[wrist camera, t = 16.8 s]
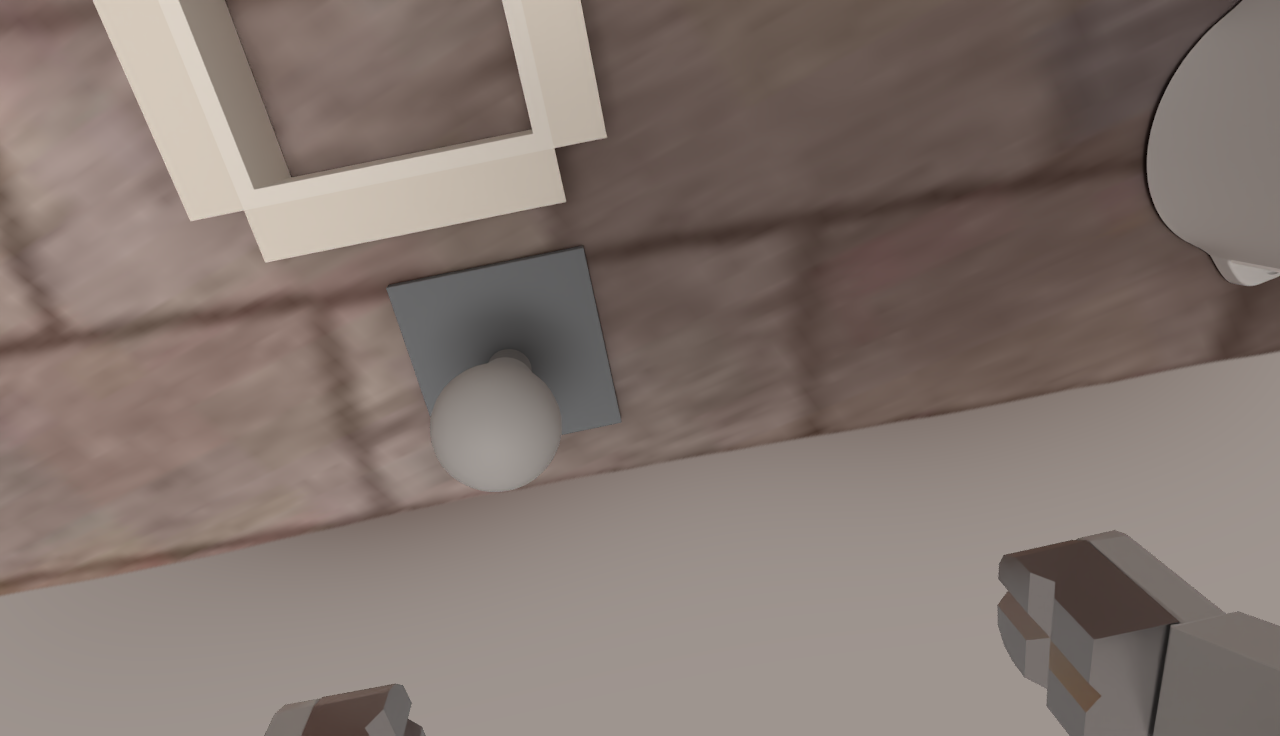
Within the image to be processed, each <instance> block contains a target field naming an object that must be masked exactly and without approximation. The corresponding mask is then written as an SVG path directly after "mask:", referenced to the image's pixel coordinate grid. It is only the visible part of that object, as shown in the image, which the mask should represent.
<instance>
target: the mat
mask: <svg viewBox="0 0 1280 736" xmlns="http://www.w3.org/2000/svg"><path fill="white" fill-rule="evenodd" d="M386 289H387V292H388V295H389V298H390V301H391V304H392V307H393V309H394V312H395V315H396V318H397V321H398V324H399V327H400V330H401V333H402V336H403V339H404V342H405V344H406V347H407V350H408V353H409V356H410V359H411V362H412V365H413V368H414V371H415V374H416V377H417V380H418V382H419V385H420V388H421V391H422V394H423V397H424V400H425V403H426V406H427V409H428V412H429V415H430V417H431V413H432V411H433V408H434V405H435V402H436V400H437V398H438V396H439V395H440V393H441V392H442V390H443V388H444V387H445V386H446V385H447V384H448V383H449V382H450V381H451V380H452V379H454V378H455V377H456V376H458V375H459V374H461V373H462V372H464V371H465V370H467V369H470V368H472V367H475V366H477V365H482V364H487V363H488V362H489V360H490V358H491V357H492V356H493V355H494V354H495V353H497V352H498V351H501V350H504V349H514V350H517V351H520V352H521V353H523V354H524V355H525V356H526V357H527V358H528V359H529V361H530V364H531V369H532V373H533V374H535V375H536V376H537V377H539V378H540V379H541V380H542V381H543V382H544V383H545V384H546V385H547V387H548V388H549V389H550V390H551V392H552V394H553V396H554V398H555V400H556V402H557V404H558V406H559V410H560V413H561V421H562V434H561V435H563V434H568V433H573V432H578V431H582V430H587V429H592V428H597V427H602V426H607V425H612V424H616V423H621V417H620V412H619V408H618V403H617V399H616V394H615V390H614V385H613V380H612V376H611V371H610V367H609V362H608V358H607V353H606V348H605V344H604V339H603V335H602V330H601V326H600V321H599V316H598V312H597V307H596V303H595V298H594V294H593V289H592V284H591V280H590V275H589V271H588V266H587V262H586V257H585V252H584V248H583V246H579V247H574V248H569V249H564V250H559V251H554V252H549V253H544V254H540V255H535V256H530V257H525V258H520V259H515V260H510V261H505V262H500V263H495V264H490V265H485V266H480V267H476V268H471V269H466V270H461V271H456V272H451V273H446V274H441V275H436V276H431V277H426V278H421V279H416V280H411V281H407V282H402V283H397V284H392V285H388V287H387V288H386Z"/></svg>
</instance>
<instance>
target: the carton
mask: <svg viewBox="0 0 1280 736" xmlns="http://www.w3.org/2000/svg"><path fill="white" fill-rule="evenodd" d="M93 2H94V4H95V7H96V9H97V11H98V13H99V16H100V18H101V20H102V22H103V25H104V27H105V29H106V31H107V34H108V36H109V38H110V40H111V43H112V45H113V47H114V50H115V52H116V54H117V56H118V59H119V61H120V63H121V65H122V68H123V70H124V72H125V74H126V77H127V79H128V81H129V83H130V86H131V88H132V90H133V92H134V95H135V97H136V99H137V102H138V104H139V106H140V108H141V111H142V113H143V115H144V117H145V120H146V122H147V124H148V126H149V129H150V131H151V133H152V135H153V138H154V140H155V142H156V144H157V147H158V149H159V151H160V153H161V156H162V158H163V160H164V163H165V165H166V167H167V169H168V172H169V174H170V176H171V178H172V181H173V183H174V185H175V187H176V190H177V192H178V194H179V196H180V199H181V201H182V203H183V205H184V208H185V210H186V212H187V215H188V217H189V219H190V221H194V220H199V219H204V218H209V217H214V216H219V215H224V214H229V213H234V212H239V211H244V212H245V214H246V217H247V219H248V222H249V224H250V226H251V229H252V231H253V234H254V236H255V239H256V241H257V244H258V246H259V248H260V251H261V253H262V256H263V258H264V261H265V263H266V262H271V261H276V260H281V259H286V258H291V257H296V256H301V255H306V254H310V253H315V252H320V251H325V250H330V249H335V248H340V247H345V246H350V245H355V244H360V243H365V242H370V241H375V240H380V239H385V238H390V237H395V236H400V235H405V234H409V233H414V232H419V231H424V230H429V229H434V228H439V227H444V226H449V225H454V224H459V223H464V222H469V221H474V220H479V219H484V218H489V217H494V216H499V215H504V214H508V213H513V212H518V211H523V210H528V209H533V208H538V207H543V206H548V205H553V204H558V203H563V202H566V198H565V193H564V189H563V184H562V180H561V175H560V171H559V166H558V162H557V157H556V153H555V148H558V147H563V146H568V145H573V144H578V143H583V142H588V141H593V140H598V139H603V138H607V135H606V130H605V125H604V120H603V115H602V110H601V104H600V99H599V94H598V89H597V84H596V78H595V73H594V68H593V63H592V58H591V52H590V47H589V42H588V37H587V32H586V26H585V21H584V16H583V11H582V6H581V0H502V2H503V6H504V11H505V15H506V19H507V24H508V28H509V32H510V36H511V41H512V45H513V49H514V54H515V58H516V62H517V66H518V71H519V75H520V79H521V84H522V88H523V92H524V97H525V101H526V105H527V109H528V114H529V118H530V122H531V127H532V129H530V130H525V131H520V132H515V133H510V134H505V135H500V136H495V137H491V138H486V139H481V140H476V141H471V142H466V143H461V144H456V145H451V146H446V147H441V148H436V149H431V150H426V151H421V152H416V153H411V154H406V155H401V156H396V157H391V158H386V159H381V160H376V161H371V162H366V163H361V164H356V165H351V166H346V167H341V168H336V169H331V170H326V171H321V172H316V173H311V174H306V175H301V176H296V177H291V175H290V173H289V170H288V167H287V165H286V162H285V159H284V157H283V154H282V151H281V149H280V146H279V143H278V141H277V138H276V135H275V133H274V130H273V127H272V125H271V122H270V119H269V117H268V114H267V111H266V109H265V106H264V103H263V101H262V98H261V95H260V93H259V90H258V87H257V85H256V82H255V79H254V77H253V74H252V71H251V69H250V66H249V63H248V61H247V58H246V55H245V53H244V50H243V47H242V45H241V42H240V39H239V37H238V34H237V31H236V29H235V26H234V23H233V21H232V18H231V15H230V13H229V10H228V7H227V5H226V2H225V0H93Z"/></svg>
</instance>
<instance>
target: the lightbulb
mask: <svg viewBox="0 0 1280 736" xmlns="http://www.w3.org/2000/svg"><path fill="white" fill-rule="evenodd" d="M561 434H562V421H561V413H560V410H559V406H558V404H557V402H556V400H555V398H554V396H553V394H552V392H551V390H550V389H549V388H548V387H547V385H546V384H545V383H544V382H543V381H542V380H541V379H540V378H539V377H537V376H536V375H535V374H533V373H532V369H531V364H530V361H529V359H528V358H527V357H526V356H525V355H524V354H523V353H521V352H520V351H517V350H514V349H504V350H501V351H498V352H497V353H495V354H494V355H493V356H492V357H491V358H490V360H489V362H488V363H487V364H482V365H477V366H475V367H472V368H470V369H467V370H465V371H464V372H462V373H461V374H459V375H458V376H456V377H455V378H454V379H452V380H451V381H450V382H449V383H448V384H447V385H446V386H445V387H444V388H443V390H442V392H441V393H440V395H439V396H438V398H437V400H436V402H435V405H434V408H433V411H432V413H431V421H430V435H431V443H432V446H433V449H434V451H435V454H436V457H437V459H438V460H439V462H440V463H441V465H442V467H443V468H444V469H445V470H446V471H447V472H448V473H449V474H450V475H451V476H452V477H453V478H455V479H456V480H457V481H459V482H461V483H463V484H465V485H467V486H469V487H471V488H474V489H477V490H481V491H488V492H503V491H508V490H513V489H517V488H519V487H522V486H524V485H526V484H528V483H529V482H531V481H533V480H534V479H536V478H537V477H538V476H539V475H540V474H541V473H542V472H543V471H544V470H545V469H546V468H547V467H548V465H549V464H550V462H551V461H552V460H553V458H554V456H555V453H556V451H557V449H558V446H559V444H560V439H561Z"/></svg>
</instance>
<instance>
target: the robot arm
mask: <svg viewBox="0 0 1280 736" xmlns="http://www.w3.org/2000/svg"><path fill="white" fill-rule="evenodd" d="M1147 178H1148V185H1149V190H1150V194H1151V197H1152V200H1153V203H1154V205H1155V208H1156V210H1157V212H1158V214H1159V215H1160V217H1161V218H1162V220H1163V221H1164V223H1165V224H1166V225H1167V226H1168V227H1169V229H1171V230H1172V231H1173V232H1174V233H1175V234H1176V235H1177V236H1179V237H1180V238H1181V239H1183V240H1185V241H1186V242H1188V243H1190V244H1192V245H1194V246H1196V247H1198V248H1200V249H1202V250H1204V251H1205V252H1207V253H1208V254H1209V255H1210V256H1211V257H1212V259H1213V261H1214V263H1215V265H1216V266H1217V268H1218V270H1219V271H1220V273H1221V274H1222V276H1223V277H1224V278H1225V279H1226V280H1227V281H1228V282H1230V283H1233V284H1238V285H1244V286H1254V285H1258V284H1261V283H1263V282H1266V281H1268V280H1271V279H1274V278H1276V277H1279V276H1280V0H1242V1H1241V2H1240V3H1239V4H1238V5H1237V6H1236V7H1235V8H1234V9H1233V10H1231V11H1230V12H1229V13H1228V14H1227V15H1226V16H1225V17H1223V18H1222V19H1221V20H1220V21H1219V22H1218V23H1217V24H1215V25H1214V26H1213V27H1212V28H1211V29H1210V30H1209V31H1208V32H1207V33H1206V34H1205V35H1204V36H1203V37H1202V38H1201V39H1200V40H1199V42H1198V43H1197V44H1196V45H1195V46H1194V48H1193V49H1192V50H1191V51H1190V53H1189V54H1188V55H1187V56H1186V58H1185V59H1184V60H1183V62H1182V63H1181V65H1180V66H1179V68H1178V69H1177V71H1176V73H1175V74H1174V76H1173V78H1172V79H1171V81H1170V83H1169V85H1168V87H1167V89H1166V91H1165V93H1164V95H1163V97H1162V99H1161V102H1160V104H1159V107H1158V109H1157V112H1156V115H1155V118H1154V121H1153V125H1152V129H1151V133H1150V138H1149V143H1148V151H1147ZM998 579H999V580H1000V581H1001V583H1002V584H1003V585H1004V586H1005V587H1006V589H1007V590H1008V592H1007V593H1006V594H1005V596H1004V597H1003V598H1002V600H1001V601H1000V603H999V604H998V627H999V630H1000V633H1001V637H1002V640H1003V643H1004V646H1005V648H1006V650H1007V652H1008V654H1009V655H1010V657H1011V659H1012V661H1013V662H1014V664H1015V665H1016V666H1017V668H1018V669H1019V670H1020V672H1021V673H1022V675H1023V676H1024V677H1025V678H1027V679H1029V680H1031V681H1033V682H1035V683H1037V684H1039V685H1041V686H1043V687H1045V688H1046V689H1047V707H1048V709H1049V710H1050V711H1051V712H1052V714H1053V715H1054V716H1055V717H1056V718H1057V720H1058V721H1059V723H1060V724H1061V725H1062V727H1063V728H1064V729H1065V730H1066V732H1067V733H1068V734H1069V736H1280V626H1278V625H1275V624H1272V623H1270V622H1267V621H1264V620H1261V619H1258V618H1256V617H1253V616H1249V615H1247V614H1244V613H1241V612H1234V613H1228V614H1226V613H1225V612H1223V611H1222V610H1221V609H1220V608H1218V607H1217V606H1216V605H1214V604H1213V603H1212V602H1211V601H1210V600H1208V599H1207V598H1206V597H1204V596H1203V595H1202V594H1201V593H1199V592H1198V591H1197V590H1196V589H1194V588H1193V587H1192V586H1191V585H1189V584H1188V583H1187V582H1186V581H1184V580H1183V579H1182V578H1181V577H1179V576H1178V575H1177V574H1176V573H1174V572H1173V571H1172V570H1171V569H1169V568H1168V567H1167V566H1166V565H1164V564H1163V563H1162V562H1161V561H1159V560H1158V559H1157V558H1156V557H1154V556H1153V555H1152V554H1151V553H1149V552H1148V551H1147V550H1146V549H1144V548H1143V547H1142V546H1141V545H1139V544H1138V543H1137V542H1136V541H1134V540H1133V539H1132V538H1131V537H1129V536H1128V535H1126V534H1124V533H1122V532H1118V531H1115V530H1113V531H1109V532H1104V533H1100V534H1095V535H1091V536H1087V537H1082V538H1078V539H1077V540H1070V541H1066V542H1061V543H1056V544H1052V545H1047V546H1043V547H1039V548H1034V549H1029V550H1025V551H1020V552H1016V553H1011V554H1006V555H1004V556H1003V558H1002V559H1001V562H1000V563H999V577H998ZM411 704H412V703H411V701H410V699H409V697H408V694H407V692H406V690H405V688H404V686H403V685H399V684H391V685H385V686H380V687H375V688H369V689H364V690H359V691H353V692H348V693H342V694H337V695H332V696H326V697H322V698H321V699H316V700H309V701H304V702H298V703H293V704H287V705H284V706H283V707H282V708H281V709H280V710H279V711H278V712H277V713H275V715H274V716H273V718H272V721H271V723H270V725H269V727H268V729H267V731H266V733H265V735H264V736H426V735H425V733H424V730H423V728H422V727H421V726H419V725H418V724H416V723H414V722H412V721H411V720H409V719H408V716H409V712H410V708H411Z"/></svg>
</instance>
